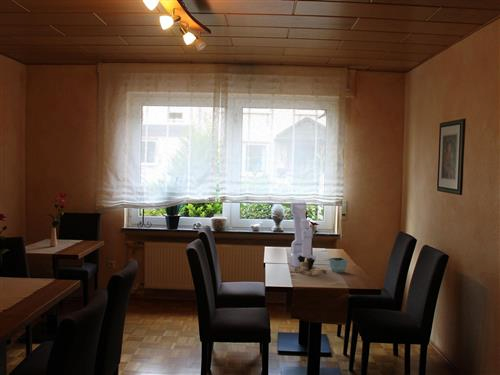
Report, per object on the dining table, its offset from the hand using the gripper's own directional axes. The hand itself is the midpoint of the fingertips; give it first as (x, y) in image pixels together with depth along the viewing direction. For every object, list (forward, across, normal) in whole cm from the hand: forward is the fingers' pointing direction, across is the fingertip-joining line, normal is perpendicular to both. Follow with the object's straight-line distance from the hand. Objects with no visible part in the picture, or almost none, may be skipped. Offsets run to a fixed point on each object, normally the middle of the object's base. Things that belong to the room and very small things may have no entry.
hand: (306, 268), depth 306 cm
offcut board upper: (0, +8, 0) cm, 8 cm away
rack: (+3, +4, 0) cm, 5 cm away
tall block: (+2, 0, 0) cm, 2 cm away
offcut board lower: (+2, +8, 0) cm, 8 cm away
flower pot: (+3, +11, +18) cm, 21 cm away
